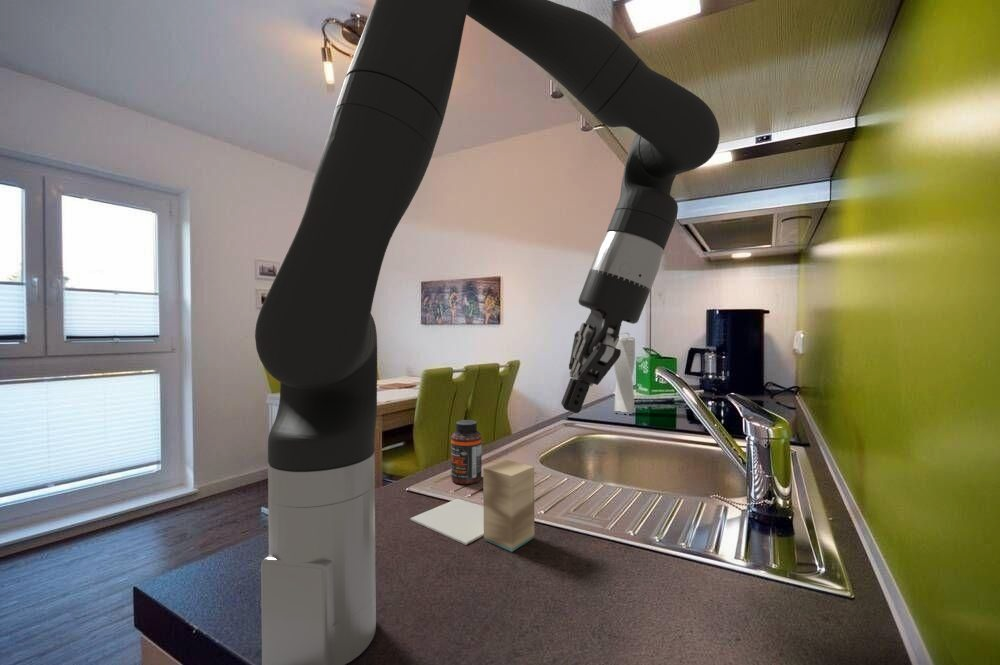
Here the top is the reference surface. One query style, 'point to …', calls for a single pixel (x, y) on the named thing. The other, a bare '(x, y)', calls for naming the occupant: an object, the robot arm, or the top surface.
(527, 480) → the beech block
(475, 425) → the supplement bottle
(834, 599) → the top surface
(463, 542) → the grey mat
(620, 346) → the skyscraper
